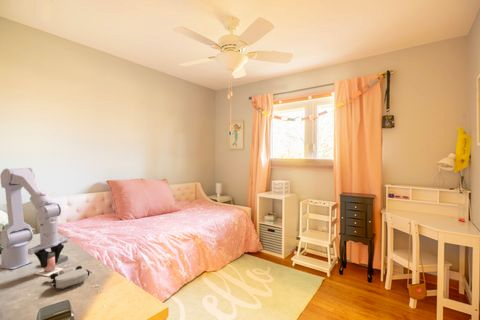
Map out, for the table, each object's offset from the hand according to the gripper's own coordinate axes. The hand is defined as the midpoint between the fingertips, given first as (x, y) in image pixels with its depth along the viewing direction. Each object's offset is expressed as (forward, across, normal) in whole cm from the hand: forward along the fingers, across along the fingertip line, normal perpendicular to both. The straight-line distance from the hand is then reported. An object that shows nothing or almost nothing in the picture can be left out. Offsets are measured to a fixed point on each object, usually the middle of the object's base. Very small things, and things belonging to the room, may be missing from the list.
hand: (49, 264), depth 98 cm
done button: (+2, +7, +8) cm, 10 cm away
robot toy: (+3, -4, -16) cm, 17 cm away
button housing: (+3, +7, +8) cm, 11 cm away
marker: (+2, 0, 0) cm, 2 cm away
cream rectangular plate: (+3, 0, 0) cm, 3 cm away
